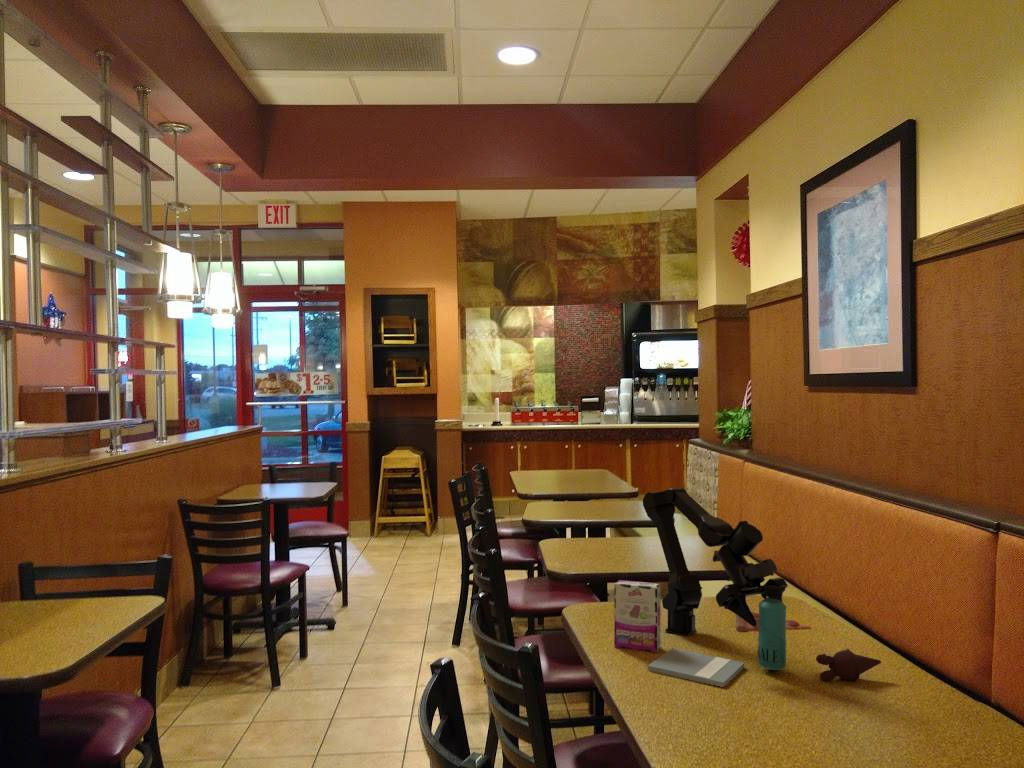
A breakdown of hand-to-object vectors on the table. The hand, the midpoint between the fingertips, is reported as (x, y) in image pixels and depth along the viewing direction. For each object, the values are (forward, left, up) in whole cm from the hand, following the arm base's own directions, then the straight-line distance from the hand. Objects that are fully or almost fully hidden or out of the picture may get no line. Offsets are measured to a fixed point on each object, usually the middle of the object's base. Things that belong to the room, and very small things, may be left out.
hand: (770, 623), depth 181 cm
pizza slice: (-9, +37, -12) cm, 40 cm away
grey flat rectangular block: (-14, -9, -11) cm, 20 cm away
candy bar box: (-32, -3, -11) cm, 35 cm away
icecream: (+16, +5, -11) cm, 21 cm away
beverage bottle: (+1, 0, -11) cm, 11 cm away
